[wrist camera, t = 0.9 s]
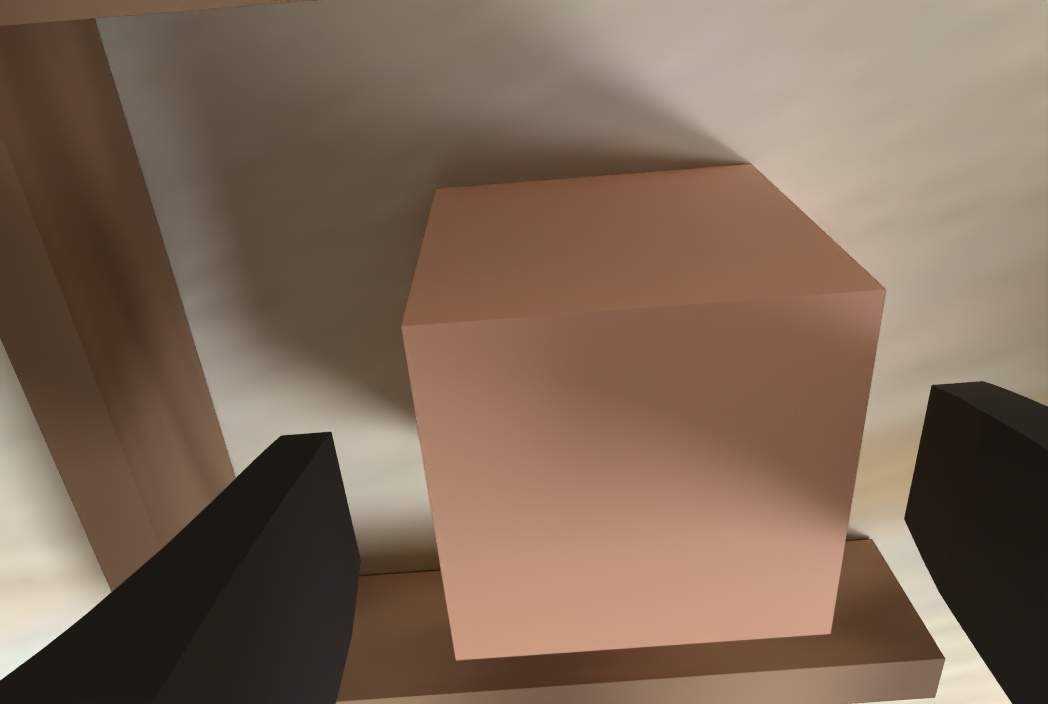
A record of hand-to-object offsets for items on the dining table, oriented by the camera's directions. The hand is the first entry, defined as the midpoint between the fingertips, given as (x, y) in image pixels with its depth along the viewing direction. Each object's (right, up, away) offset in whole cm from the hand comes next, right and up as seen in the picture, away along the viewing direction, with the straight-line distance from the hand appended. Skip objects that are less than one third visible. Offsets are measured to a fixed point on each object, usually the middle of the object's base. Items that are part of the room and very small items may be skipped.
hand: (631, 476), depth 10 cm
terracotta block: (0, +2, +4) cm, 5 cm away
